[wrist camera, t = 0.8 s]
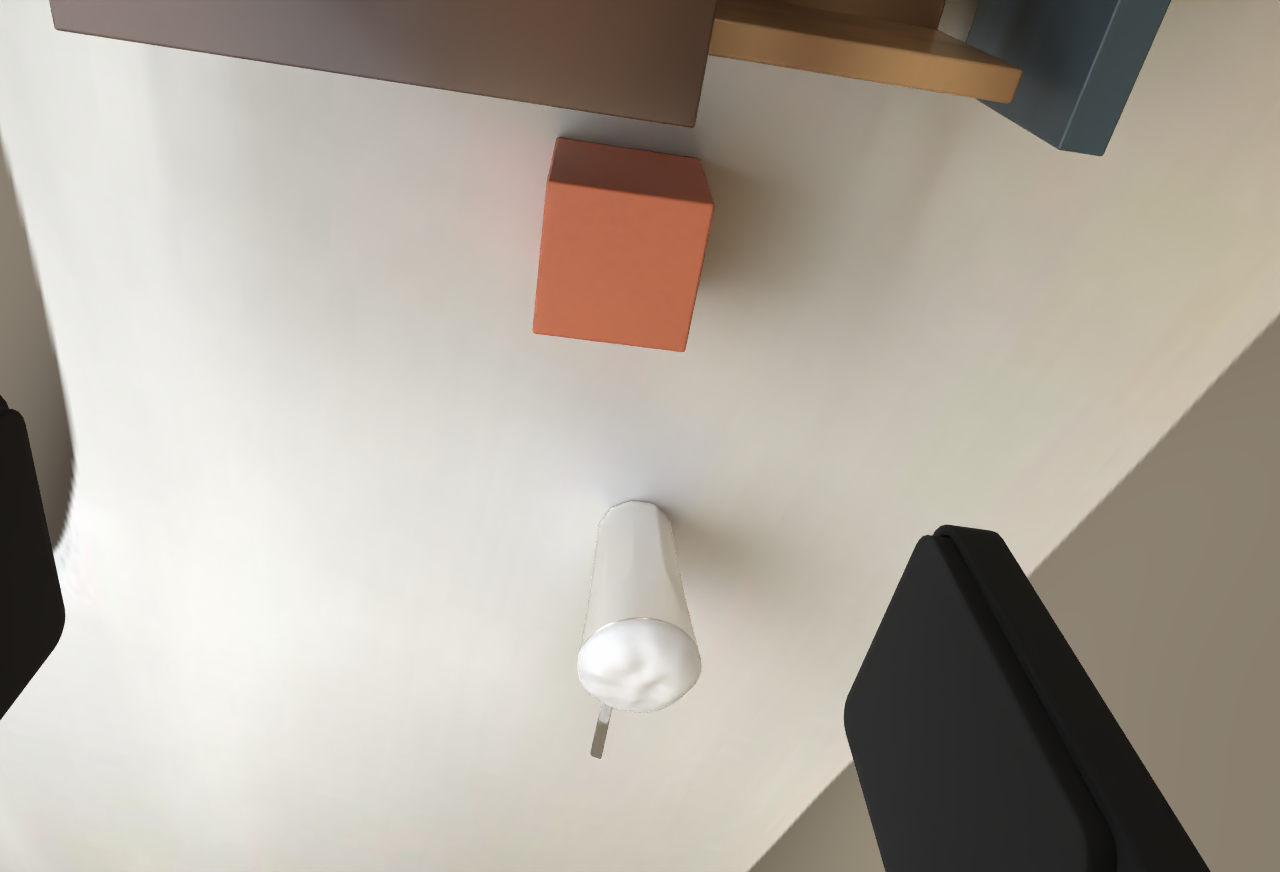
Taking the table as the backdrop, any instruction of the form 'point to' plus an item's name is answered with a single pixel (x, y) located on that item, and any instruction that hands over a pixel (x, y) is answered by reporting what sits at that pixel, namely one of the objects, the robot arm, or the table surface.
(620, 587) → the milkshake
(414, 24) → the cabinet
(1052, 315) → the table surface
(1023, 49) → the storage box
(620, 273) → the block
